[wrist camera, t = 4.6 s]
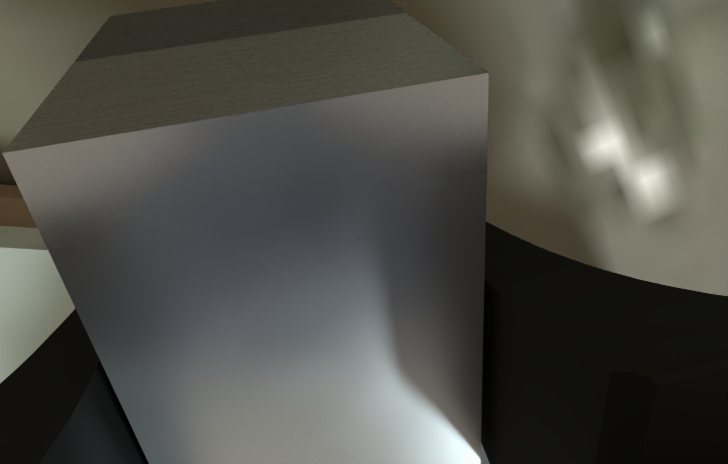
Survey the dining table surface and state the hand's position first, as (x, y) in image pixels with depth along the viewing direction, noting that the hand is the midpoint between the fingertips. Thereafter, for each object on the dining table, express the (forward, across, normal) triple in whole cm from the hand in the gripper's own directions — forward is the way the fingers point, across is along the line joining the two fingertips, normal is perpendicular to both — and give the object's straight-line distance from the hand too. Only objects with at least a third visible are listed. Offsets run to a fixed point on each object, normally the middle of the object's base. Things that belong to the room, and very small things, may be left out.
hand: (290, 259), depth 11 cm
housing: (+2, 0, 0) cm, 2 cm away
